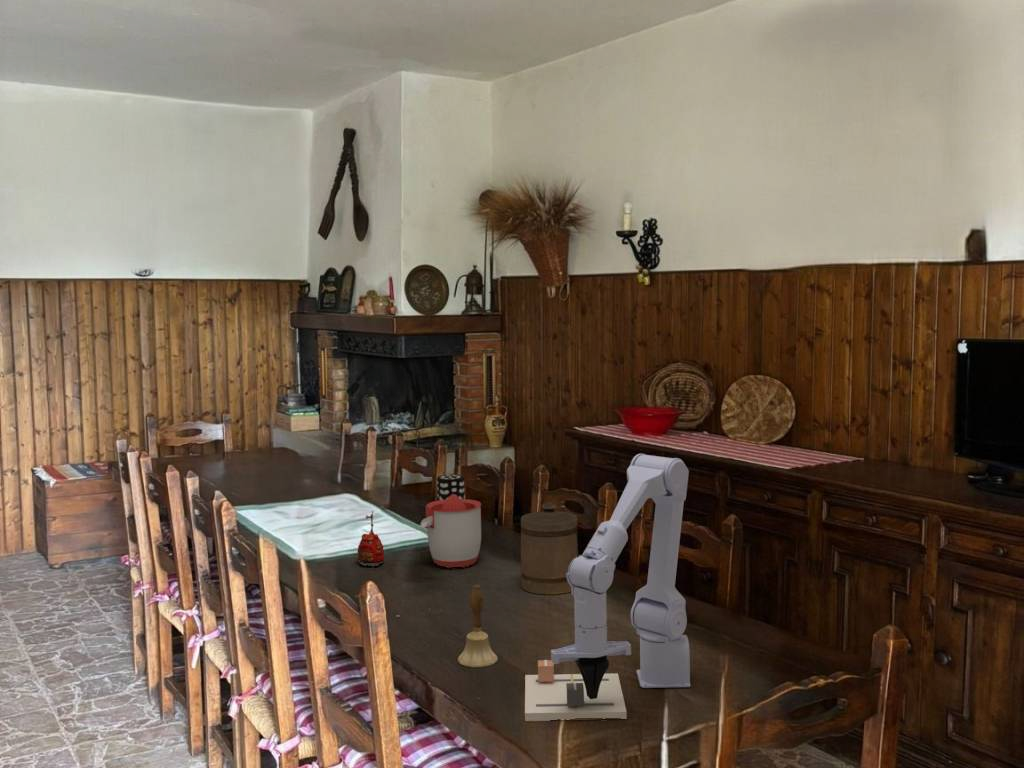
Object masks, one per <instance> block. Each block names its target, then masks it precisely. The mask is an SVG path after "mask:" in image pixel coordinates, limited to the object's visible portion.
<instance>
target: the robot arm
mask: <svg viewBox="0 0 1024 768" xmlns="http://www.w3.org/2000/svg"><path fill="white" fill-rule="evenodd" d="M689 472H690V470H689V469H688V467H687V466H686V464H685V462H684V460H682V458H678V457H673V458H672V457H667V456H666V457H665V456H657V455H651V454H650V455H649V454H645V453H638V454H636V455H635V456H633V458H632V459H631V461H630V464H629V466H628V468H627V469H626V480H627V483H626V485H625V487H624V490H623V492H622V494H621V496H620V498H619V500H618V502H617V504H616V506H615V508H614V511H613V512H612V515H611V517H610V519H609V520H605V521H603V522H601V523H600V524H599V525H598V528H597V529H596V531H595V532H594V533H593V535H592V537H591V539H590V540H589V542H588V544H587V546H586V547H585V549H584V551H583V553H582V554H580V555H578V558H575V559H574V560H572V562H571V563H570V565H569V568H568V573H567V574H566V577H567V581H568V583H569V584H570V586H571V592H570V593H571V595H572V596H573V599H574V600H573V602H574V603H573V604H574V605H573V606H574V609H573V610H574V643H573V644H570V645H567V646H563V647H560V648H556V649H550V660H551V661H552V662H553V663H554V665H558V664H560V663H564V662H569V661H570V662H572V661H574V663H576V666H577V667H578V669H579V673H580V674H581V675H582V677H583V680H584V684H585V688H586V693H587V696H588V697H589V699H597V696H598V691H599V687H600V684H601V681H602V678H603V676H604V674H606V671H607V670H609V669H608V668H609V665H610V661H609V659H608V658H607V657H611V656H620V655H621V656H622V655H625V656H631V655H632V644H631V643H630V642H629V641H627V640H625V641H624V640H623V641H608V628H607V627H608V626H607V625H608V623H607V621H608V620H607V615H608V614H607V590H609V588H610V586H611V585H612V583H613V581H614V573H615V572H614V571H615V570H616V566H617V565H616V562H617V560H618V558H619V556H620V555H621V553H622V551H623V549H624V548H625V546H626V543H627V542H628V541H629V540H628V539H629V536H628V532H627V529H628V528H629V526H630V525H631V524H632V521H634V519H635V518H636V517H637V515H638V514H639V512H640V510H641V509H642V507H643V506H644V505H645V503H646V501H647V500H648V499H651V500H652V501H653V502H654V504H655V506H654V507H655V508H654V518H653V527H652V534H651V535H652V536H651V543H650V545H651V546H650V552H649V553H650V554H649V564H648V573H647V578H646V580H647V581H646V584H645V585H644V586H643V587H640V589H638V590H636V592H635V596H634V597H635V598H634V601H633V604H632V606H631V608H630V612H629V613H630V614H629V615H630V617H629V618H630V623H631V625H632V626H633V628H635V629H636V635H639V659H640V661H639V663H640V664H639V665H640V668H639V669H636V675H637V679H638V683H639V686H640V688H641V687H642V689H653V688H654V689H655V688H691V661H690V660H691V659H690V657H691V655H690V654H691V653H690V642H689V638H688V636H687V634H684V632H685V630H686V628H687V623H688V618H687V612H686V611H687V610H686V603H687V601H686V599H685V597H683V595H682V594H681V593H680V592H679V591H678V590H677V588H676V586H675V585H676V578H677V577H676V576H677V568H678V559H679V550H680V549H679V548H680V540H681V530H682V522H683V515H684V514H683V512H684V505H685V504H684V503H685V501H686V498H687V491H688V485H689V484H688V483H689Z"/></svg>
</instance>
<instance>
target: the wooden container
mask: <svg viewBox="0 0 1024 768" xmlns="http://www.w3.org/2000/svg"><path fill="white" fill-rule="evenodd" d="M541 509H542V511H535V512H530V513H526V514H524V515H522V516H521V517H520V579H521V580H520V581H521V589H523V590H524V591H525V592H527V593H530V594H531V593H532V594H535V595H536V594H537V595H546V596H547V595H549V596H552V595H553V596H554V595H555V596H556V595H564V594H568V593H571V586H570V584H569V583H568V581H567V577H566V574H567V573H568V568H569V565H570V563H571V562H572V560H574V559H575V558H578V556H579V550H578V517H577V515H576V514H573V513H570V512H566V511H558V510H557V511H556V510H555V509H556V505H555V503H553V502H552V501H548V502H547V501H546V502H545V503H543V504H542V505H541Z"/></svg>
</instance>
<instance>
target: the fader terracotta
mask: <svg viewBox="0 0 1024 768" xmlns="http://www.w3.org/2000/svg"><path fill="white" fill-rule="evenodd" d="M554 667H555V664H554V663H553V662H552V661H551V659H550V660H549V659H543V660H542V659H541V660H540V659H539V660H537V675H538V682H550V681H554V675H555V668H554Z"/></svg>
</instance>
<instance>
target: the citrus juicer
mask: <svg viewBox="0 0 1024 768" xmlns="http://www.w3.org/2000/svg"><path fill="white" fill-rule="evenodd" d="M481 507H482V503H481V502H480V501H479V500H475V499H466V498H465V499H459V498H458V497H457V496H456V495H455V494H452V495H451V496H450V497H449V498H448V499H446V500H439V501H438V500H435V501H431V502H428V503H427V504H426V505H425V518H423V519H422V520H421V522H420V527H421V528H423V529H425V528H427V541H428V546H429V550H430V554H431V559H432V561H433V563H434V564H435V563H436V564H438V565H440V566H446V567H462V568H466V567H465V566H467V567H470V566H469V565H472V564H473V565H475V564H476V563H475V562H477V560H478V557H479V553H480V549H481V544H482V543H481V542H482V513H481V512H482V509H481ZM474 563H475V564H474ZM473 565H472V566H473Z"/></svg>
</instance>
